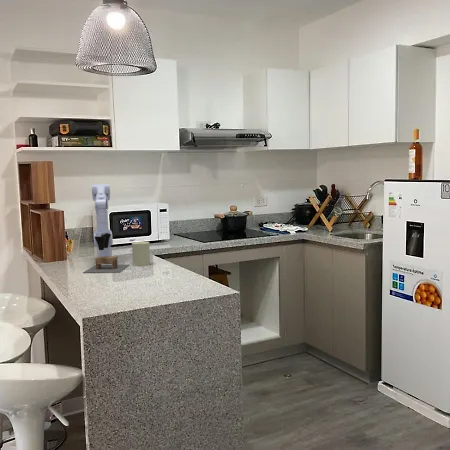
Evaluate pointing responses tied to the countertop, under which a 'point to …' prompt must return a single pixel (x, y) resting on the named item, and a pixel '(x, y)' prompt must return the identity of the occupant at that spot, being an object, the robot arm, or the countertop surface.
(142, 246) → the can
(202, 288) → the countertop surface
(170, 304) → the countertop surface
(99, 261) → the stool
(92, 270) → the mat
